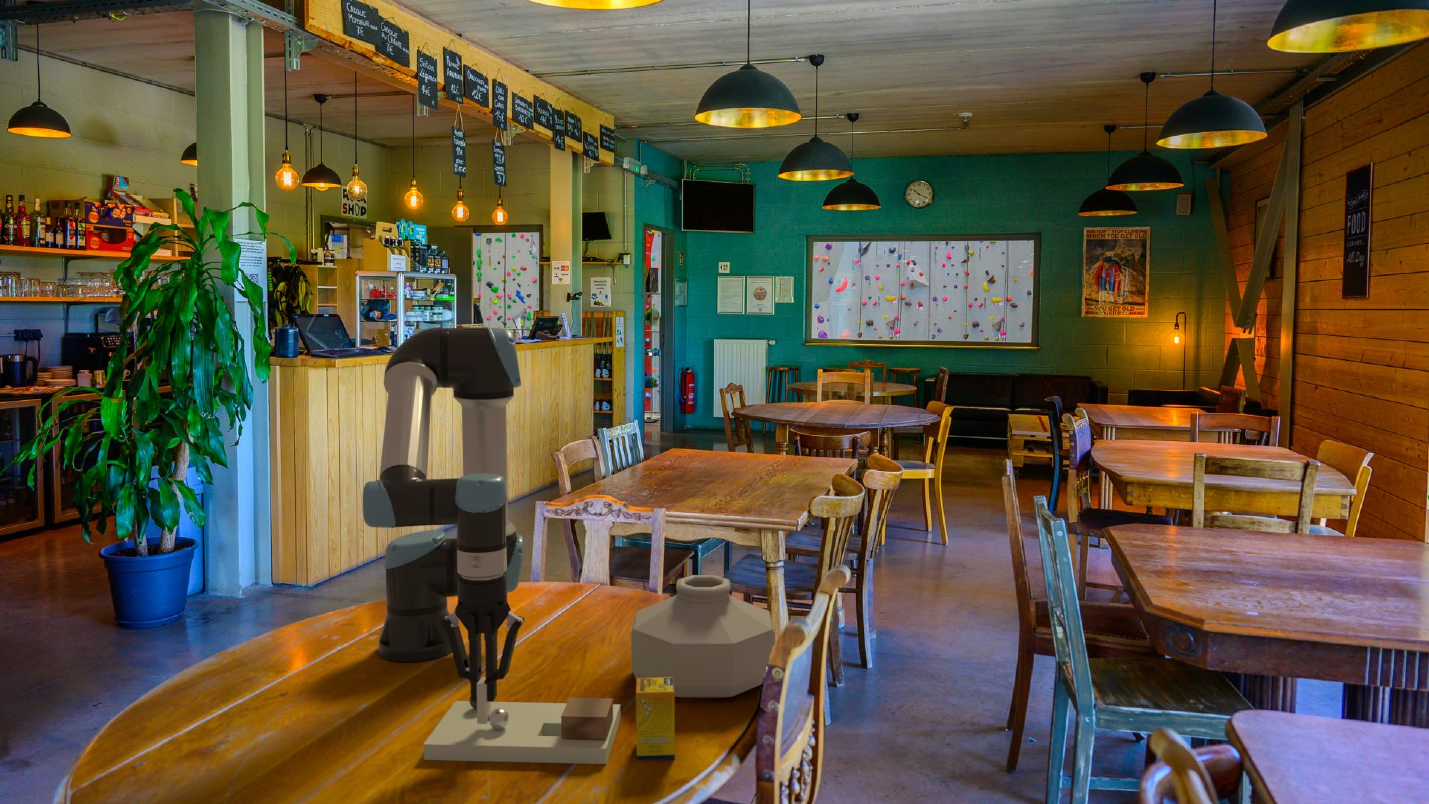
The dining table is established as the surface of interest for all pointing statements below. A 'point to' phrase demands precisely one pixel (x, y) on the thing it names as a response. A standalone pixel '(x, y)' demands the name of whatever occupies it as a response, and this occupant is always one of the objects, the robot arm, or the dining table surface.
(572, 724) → the cover
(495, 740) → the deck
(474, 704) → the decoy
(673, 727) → the supplement box
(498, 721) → the ball
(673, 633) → the pot
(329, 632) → the dining table surface
